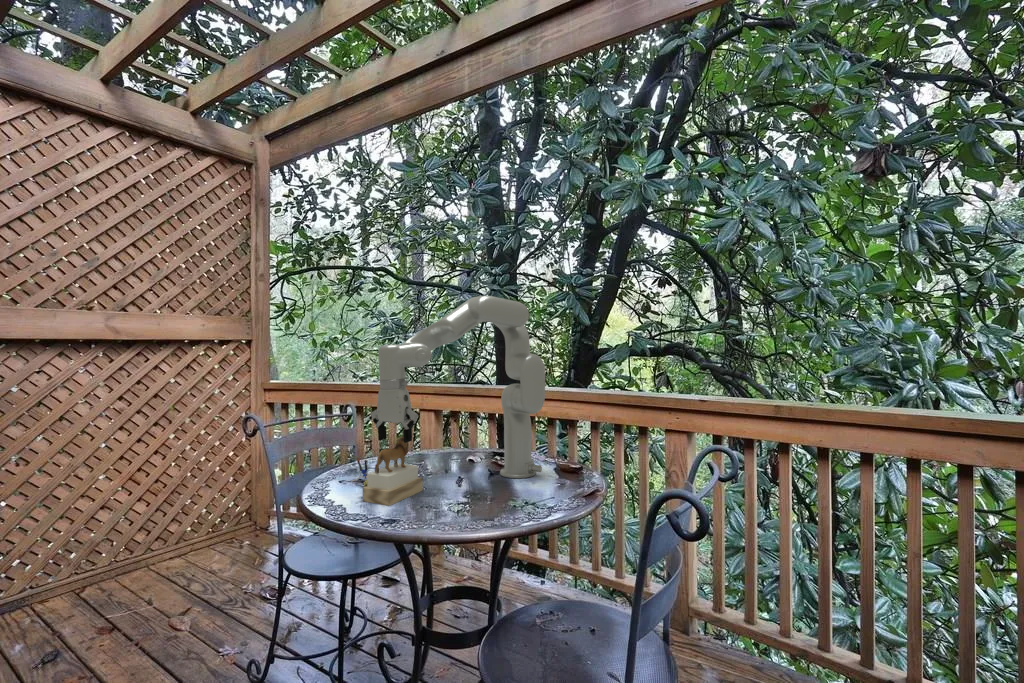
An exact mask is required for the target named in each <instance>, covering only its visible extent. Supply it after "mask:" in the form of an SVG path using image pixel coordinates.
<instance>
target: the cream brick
mask: <svg viewBox="0 0 1024 683" xmlns="http://www.w3.org/2000/svg"><path fill="white" fill-rule="evenodd" d="M397 464H398V467H394V464H392V465H389V469H390V470H392V472H388V471H387V469H386V468H385V467H382V468H379V473H378V474H377V473H375V470H374V471H371V472H367V473H366V474H367V478H366V480H367V485H368V487H369V488H376V489H383V490H391V489H394V488H396V487H398V486H401V485H403V484H406V483H408V482H411V481H413V480H415V479H418V477H419V466H418V465H416V464H415V465H414V464H408V463H407V464H406V463H404V466H406V467H405V468H402V467H401V463H399V462H397Z"/></svg>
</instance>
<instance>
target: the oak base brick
mask: <svg viewBox="0 0 1024 683" xmlns="http://www.w3.org/2000/svg"><path fill="white" fill-rule="evenodd" d="M423 483H424V482H423V477H419V476H418V479H415V480H413V481H411V482H408V483H406V484H403V485H401V486H398V487H396V488H394V489H391V490H383V489H376V488H369V487H368V486H364V487H362V502H366V503H372V504H378V505H384V506H388V507H389V506H392V505H394V504H397V503H399V502H401V501H403V500H405V499H408V498H410V497H412V496H414V495H417V494H419V493H421V492H423V489H424V488H423Z"/></svg>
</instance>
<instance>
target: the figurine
mask: <svg viewBox="0 0 1024 683" xmlns="http://www.w3.org/2000/svg"><path fill="white" fill-rule="evenodd" d="M356 461H357V462H356V463H357V464H358V466H359V471H360V472H361V474H363V475H360V476H359V477H357V478H355V479H353V480H350V481H349V482H353V483H354V482H356V481H359V479H361V478H364V480H365V481H363V486H364V487H366V486H368V485H367V474H368V465H367V463H368V460H367V459H364V469H363V468H362V464H361V462H360V459H359V457H356Z"/></svg>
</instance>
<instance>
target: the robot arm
mask: <svg viewBox="0 0 1024 683" xmlns="http://www.w3.org/2000/svg"><path fill="white" fill-rule="evenodd" d="M529 318H530V312H529V310H528V308H527V306H526V305H525V304H524V303H522V302H519V301H516V300H512V299H507V298H501V297H497V296H492V295H479V296H473V297H470V298H468V299H467V300H466V301H464V302H463V303H461V304H460V305H459V306H457V307H456V308H454V309H453V310H452V311H450V312H449V313H447V314H446V315H445V316H443V317H442V318H440V319H439V320H437V321H435V322H434V323H432V324H430V325H428V326H427V327H425V328H423V329H422V330H420V331H418V332H416V334H414V335H413V336H411V337H410V338H408V339H407V340H406V341H404V342H403V343H402V344H399V343H398V344H397V343H396V344H383V345H380V346H379V347H378V370H379V372H378V373H379V390H378V393H377V396H378V397H377V406H376V407H377V408H376V409H374V410H373V411H371V412H370V416H371V418H372V421H373V423H374V424H375V427H376V428H377V437H378V441H379V442H381V441H384V440H386V439H388V437H387V434H388V433H387V425H386V424H387V423H393V424H401V425H402V427H403V428H404V429H403V432H402V433H403V437H404V443H407V442H408V443H409V442H412V441H413V430H412V429H413V428H414V426H415V425H416V424H417V420H418V418H419V414H418V413H417V412H415V411H414V410H412V403H411V397H410V393H409V390H408V388H406V386H408V381H406V371H405V367H411V368H412V367H413V368H421V367H424V366H425V365H427V364H428V363H429V362H430V361H431V359H432V350H435V349H437V348H439V347H442V346H445V345H448V344H451V343H453V342H456V341H458V340H459V339H461V338H462V337H463V336H464V335H466V334H467V333H468V332H470V331H471V330H472V329H473V328H475V327H476V326H478V325H479V324H481V323H482V322H484V323H486V322H488V323H489V322H490V323H493V325H494V326H495V327H497V328H498V329H499V330H500V331H501V333H502V335H503V337H504V343H505V361H504V366H505V367H504V368H505V372H506V375H507V377H508V378H510V379H512V380H516V381H520V383H511V384H508V385H507V386H506V387H504V388H503V390H502V393H501V398H500V400H501V401H500V402H501V407H502V412H503V428H504V429H503V444H504V445H503V446H504V447H503V449H504V451H503V452H504V453H503V454H504V455H503V457H504V461H503V462H504V464H503V465H504V467H503V468H501V470H499V475H500V476H502V477H504V478H509V479H510V478H511V479H526V478H531V477H534V476H536V474H537V472H538V473H541V472H543V467H542V465H541V464H535V460H532V420H531V415H535V414H537V413H539V412H540V411H541V410H542V409H543V407H544V404H545V399H546V367H545V363H544V361H543V359H542V357H541V356H539V355H537V354H535V353H531V347H530V346H531V345H530V342H531V341H530V336H529V332H528V329H527V327H526V326H525V325H526V323H527V322H528V320H529Z"/></svg>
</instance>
